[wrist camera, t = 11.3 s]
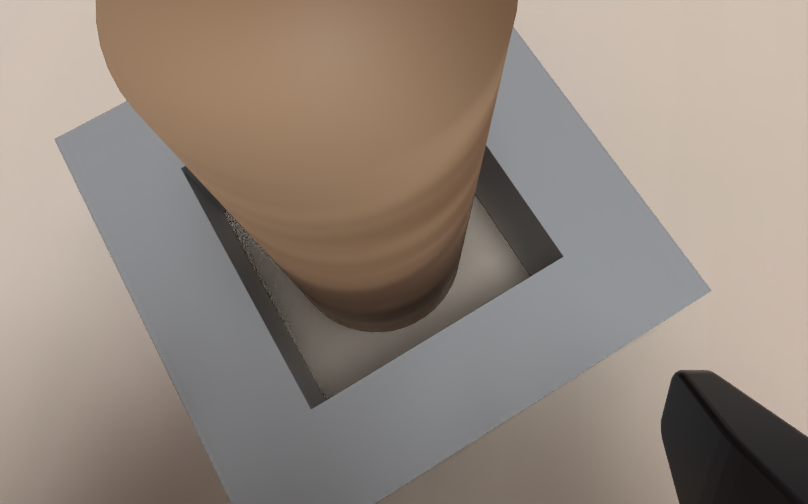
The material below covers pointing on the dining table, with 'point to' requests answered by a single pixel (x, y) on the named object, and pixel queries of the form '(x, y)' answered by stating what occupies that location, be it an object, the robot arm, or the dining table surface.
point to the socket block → (420, 366)
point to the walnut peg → (326, 130)
